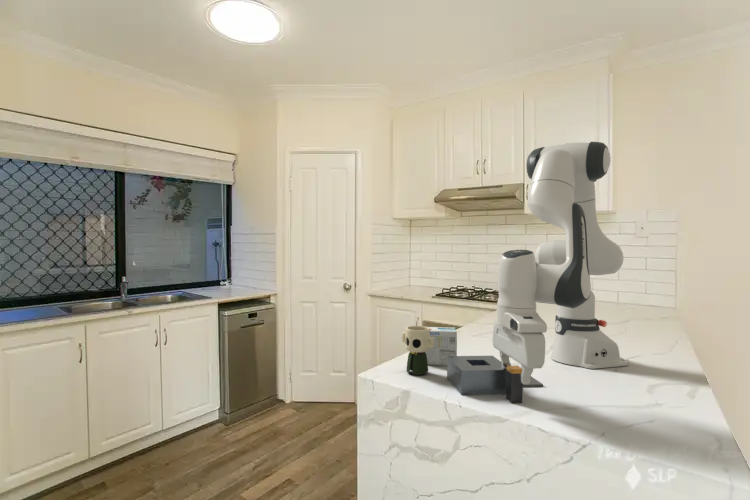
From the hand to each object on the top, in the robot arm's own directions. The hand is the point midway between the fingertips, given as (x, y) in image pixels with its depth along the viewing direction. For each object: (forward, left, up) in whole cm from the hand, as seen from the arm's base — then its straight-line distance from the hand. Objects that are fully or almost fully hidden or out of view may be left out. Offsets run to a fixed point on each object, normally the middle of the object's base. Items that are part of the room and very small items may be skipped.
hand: (515, 376), depth 97 cm
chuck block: (+5, -14, -6) cm, 16 cm away
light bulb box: (+10, -33, -6) cm, 35 cm away
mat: (-8, -14, -6) cm, 17 cm away
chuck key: (0, -1, -6) cm, 6 cm away
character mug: (+19, -23, -6) cm, 30 cm away
